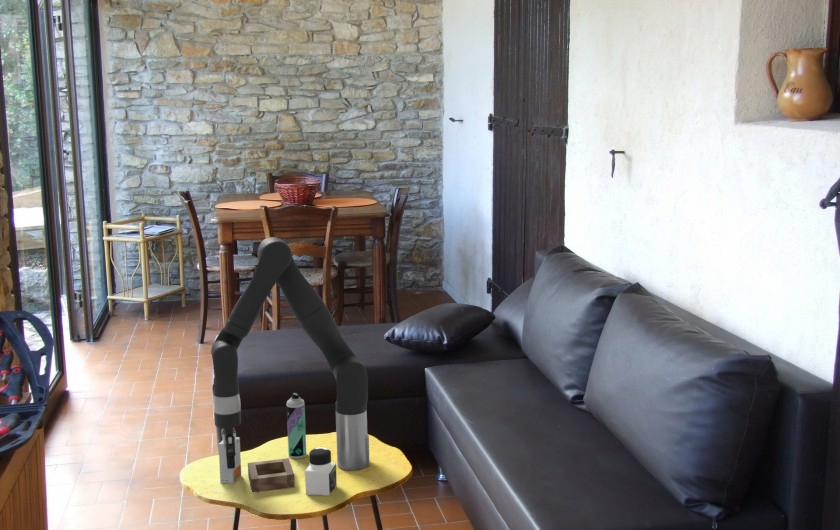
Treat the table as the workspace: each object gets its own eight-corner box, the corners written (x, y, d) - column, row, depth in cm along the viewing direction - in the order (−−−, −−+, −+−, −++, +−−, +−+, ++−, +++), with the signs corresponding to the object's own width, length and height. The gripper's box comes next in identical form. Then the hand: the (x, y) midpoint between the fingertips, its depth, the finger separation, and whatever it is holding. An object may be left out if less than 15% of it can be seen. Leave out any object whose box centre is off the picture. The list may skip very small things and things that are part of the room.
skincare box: (233, 484, 256) (231, 444, 254) (220, 483, 257) (217, 443, 255) (242, 475, 262) (240, 436, 260) (228, 474, 263) (226, 436, 260)
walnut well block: (289, 470, 265) (288, 458, 264) (294, 487, 253) (294, 474, 253) (248, 475, 262) (247, 462, 261) (252, 492, 250) (251, 479, 249)
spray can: (291, 451, 279) (288, 390, 276) (308, 452, 278) (306, 391, 275) (286, 458, 274) (283, 396, 270) (303, 459, 273) (301, 396, 269)
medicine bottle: (330, 496, 247) (328, 455, 245) (305, 494, 249) (303, 454, 246) (337, 485, 254) (335, 445, 252) (312, 484, 255) (311, 444, 253)
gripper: (242, 415, 250) (245, 471, 253) (238, 399, 263) (241, 452, 266) (215, 418, 248) (218, 474, 251) (212, 402, 261) (215, 455, 264)
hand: (230, 462), depth 258 cm, fingers closed on skincare box, 7 cm apart
